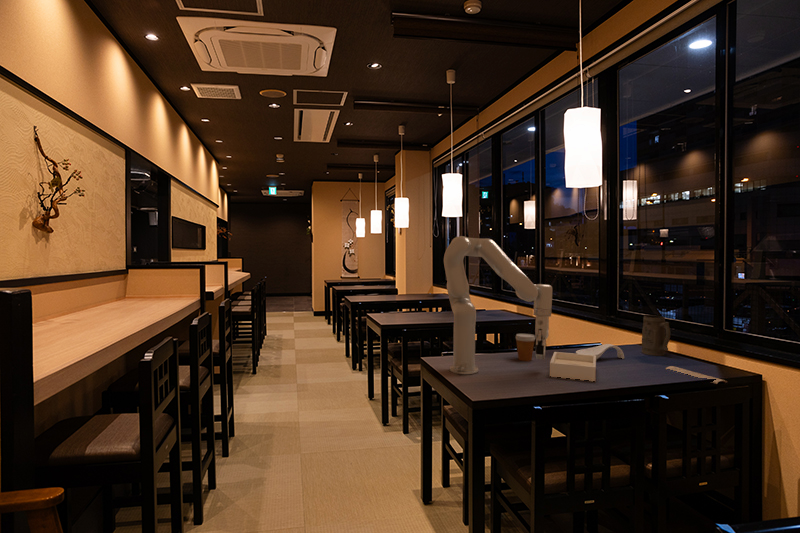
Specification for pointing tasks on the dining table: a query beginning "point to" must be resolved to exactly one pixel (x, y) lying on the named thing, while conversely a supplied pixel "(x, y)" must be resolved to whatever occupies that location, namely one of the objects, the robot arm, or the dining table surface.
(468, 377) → the dining table surface
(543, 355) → the small plastic bottle
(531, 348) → the disposable coffee cup
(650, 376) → the dining table surface
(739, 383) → the dining table surface
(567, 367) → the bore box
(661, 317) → the beer stein
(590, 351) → the spoon rest
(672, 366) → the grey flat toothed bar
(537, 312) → the robot arm
